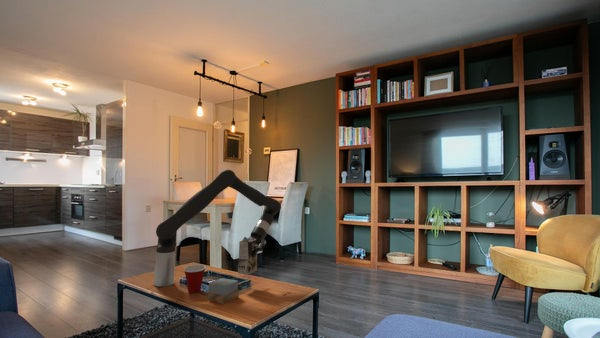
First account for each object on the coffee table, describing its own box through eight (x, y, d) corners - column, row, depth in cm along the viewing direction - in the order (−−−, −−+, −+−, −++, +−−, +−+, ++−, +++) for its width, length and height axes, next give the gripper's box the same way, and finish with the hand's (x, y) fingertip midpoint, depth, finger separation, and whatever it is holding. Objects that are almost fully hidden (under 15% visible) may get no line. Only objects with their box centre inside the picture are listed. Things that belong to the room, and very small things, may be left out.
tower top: (208, 292, 145) (208, 283, 145) (221, 286, 154) (221, 278, 154) (225, 295, 141) (226, 286, 141) (237, 289, 150) (238, 280, 150)
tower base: (207, 300, 145) (207, 292, 145) (222, 294, 154) (222, 286, 154) (224, 305, 140) (224, 295, 141) (238, 298, 149) (238, 289, 149)
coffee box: (249, 275, 157) (250, 242, 158) (237, 273, 159) (238, 241, 160) (257, 270, 166) (258, 239, 166) (246, 269, 168) (247, 238, 169)
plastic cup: (177, 293, 153) (178, 268, 154) (191, 287, 163) (192, 263, 164) (196, 296, 150) (197, 270, 150) (209, 289, 160) (210, 265, 161)
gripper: (247, 224, 174) (232, 249, 163) (268, 227, 167) (254, 253, 156) (252, 233, 178) (238, 258, 167) (274, 235, 171) (260, 261, 160)
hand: (246, 255), depth 161 cm, fingers closed on coffee box, 7 cm apart
